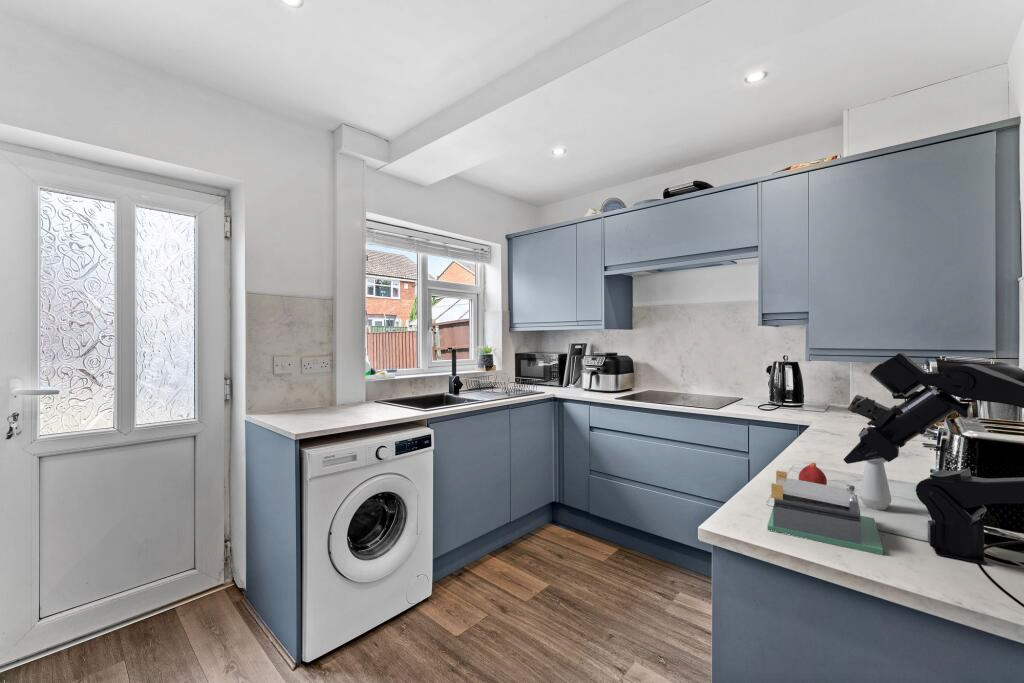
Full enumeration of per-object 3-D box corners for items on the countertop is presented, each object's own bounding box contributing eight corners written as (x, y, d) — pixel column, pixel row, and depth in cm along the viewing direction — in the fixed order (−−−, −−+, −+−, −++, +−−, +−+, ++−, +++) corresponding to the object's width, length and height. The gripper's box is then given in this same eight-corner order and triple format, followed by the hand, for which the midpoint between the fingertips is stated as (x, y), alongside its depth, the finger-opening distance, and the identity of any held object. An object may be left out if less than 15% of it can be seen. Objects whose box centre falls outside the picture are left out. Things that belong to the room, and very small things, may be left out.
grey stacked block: (856, 515, 94) (856, 479, 94) (861, 544, 81) (861, 502, 81) (777, 501, 102) (777, 468, 102) (770, 525, 89) (770, 487, 89)
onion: (801, 496, 108) (801, 464, 108) (796, 489, 114) (796, 458, 114) (829, 499, 106) (829, 466, 106) (823, 491, 111) (822, 460, 111)
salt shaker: (897, 512, 98) (897, 454, 98) (868, 510, 99) (868, 453, 99) (881, 503, 104) (881, 448, 104) (853, 501, 105) (853, 447, 105)
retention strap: (854, 495, 91) (854, 489, 91) (857, 509, 84) (857, 503, 84) (778, 480, 99) (778, 475, 99) (774, 492, 92) (774, 487, 92)
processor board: (874, 522, 92) (874, 518, 92) (882, 555, 79) (882, 549, 79) (775, 504, 103) (775, 500, 103) (767, 530, 89) (767, 525, 89)
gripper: (881, 379, 94) (820, 424, 102) (873, 386, 81) (803, 437, 88) (933, 420, 89) (863, 464, 96) (932, 435, 75) (852, 485, 83)
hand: (845, 461), depth 91 cm, fingers closed
